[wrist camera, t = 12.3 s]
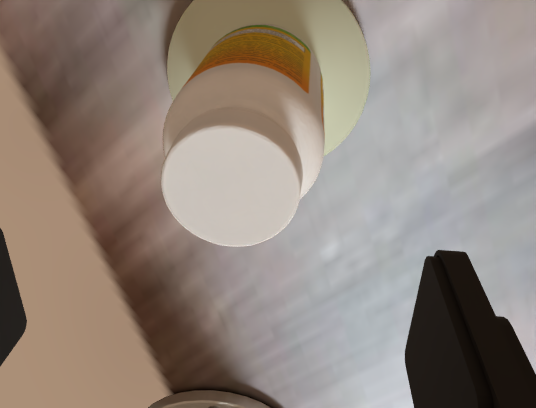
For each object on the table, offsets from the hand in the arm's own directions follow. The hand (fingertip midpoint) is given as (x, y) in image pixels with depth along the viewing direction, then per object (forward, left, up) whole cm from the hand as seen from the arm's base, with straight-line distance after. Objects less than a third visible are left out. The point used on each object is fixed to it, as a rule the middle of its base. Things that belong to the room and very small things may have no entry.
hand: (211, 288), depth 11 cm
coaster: (+1, 0, -14) cm, 14 cm away
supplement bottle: (0, 0, -14) cm, 14 cm away
